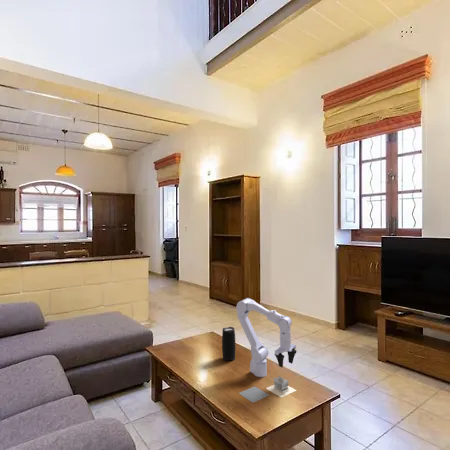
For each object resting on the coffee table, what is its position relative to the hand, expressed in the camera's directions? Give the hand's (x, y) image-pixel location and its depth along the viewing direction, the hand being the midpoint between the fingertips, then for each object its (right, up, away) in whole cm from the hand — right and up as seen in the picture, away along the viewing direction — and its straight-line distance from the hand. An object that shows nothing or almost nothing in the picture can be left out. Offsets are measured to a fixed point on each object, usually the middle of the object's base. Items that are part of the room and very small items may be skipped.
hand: (285, 364), depth 171 cm
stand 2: (-4, -10, -9) cm, 14 cm away
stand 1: (-19, -10, -13) cm, 25 cm away
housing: (-4, -9, -9) cm, 13 cm away
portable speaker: (-30, -11, +32) cm, 46 cm away
